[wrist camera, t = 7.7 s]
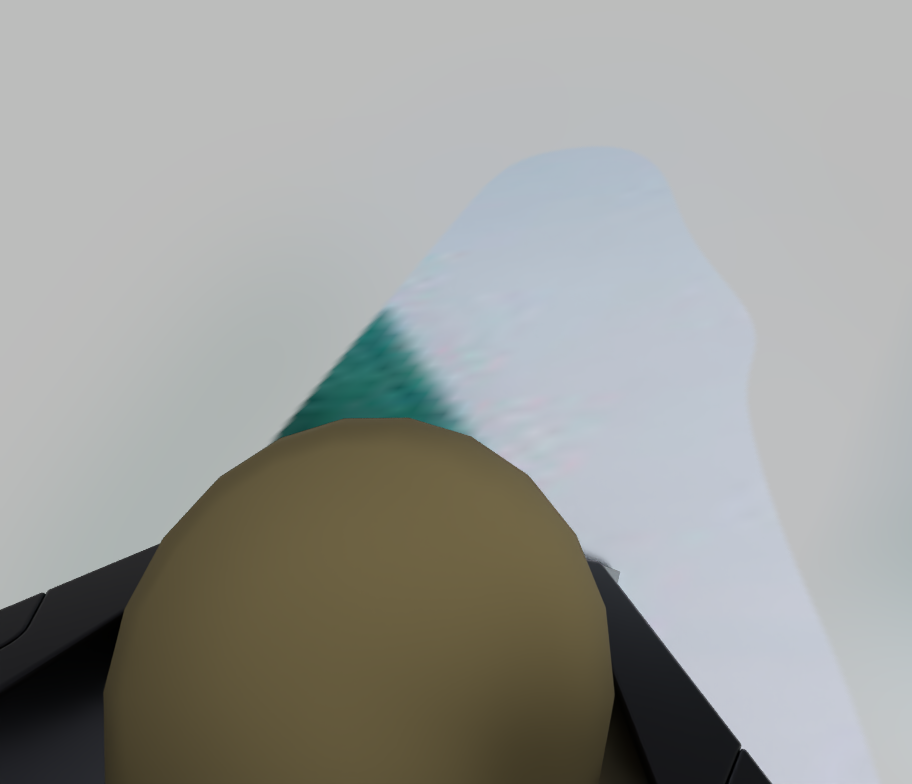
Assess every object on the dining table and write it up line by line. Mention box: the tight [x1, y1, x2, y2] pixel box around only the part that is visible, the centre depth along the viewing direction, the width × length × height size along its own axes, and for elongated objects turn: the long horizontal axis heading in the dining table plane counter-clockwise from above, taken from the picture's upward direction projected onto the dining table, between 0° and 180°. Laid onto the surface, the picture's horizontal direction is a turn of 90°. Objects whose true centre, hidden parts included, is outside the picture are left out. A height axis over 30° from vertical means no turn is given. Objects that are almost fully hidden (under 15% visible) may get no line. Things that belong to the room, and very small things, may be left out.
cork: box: [103, 418, 615, 784], centre depth 9 cm, size 6×6×11 cm
